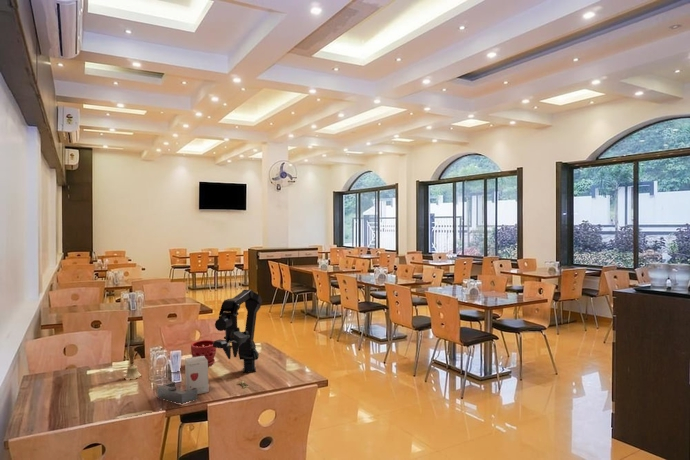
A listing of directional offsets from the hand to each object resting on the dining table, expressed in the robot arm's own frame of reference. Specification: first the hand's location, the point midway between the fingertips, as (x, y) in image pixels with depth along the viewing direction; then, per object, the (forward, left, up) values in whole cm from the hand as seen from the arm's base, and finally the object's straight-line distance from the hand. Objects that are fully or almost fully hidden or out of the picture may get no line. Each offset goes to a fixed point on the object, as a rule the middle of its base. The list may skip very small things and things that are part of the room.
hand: (232, 358), depth 228 cm
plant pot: (-33, -16, -12) cm, 39 cm away
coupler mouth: (+14, -24, -12) cm, 30 cm away
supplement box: (+7, -16, -12) cm, 21 cm away
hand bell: (-22, -50, -12) cm, 56 cm away
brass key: (+5, +5, -12) cm, 14 cm away
